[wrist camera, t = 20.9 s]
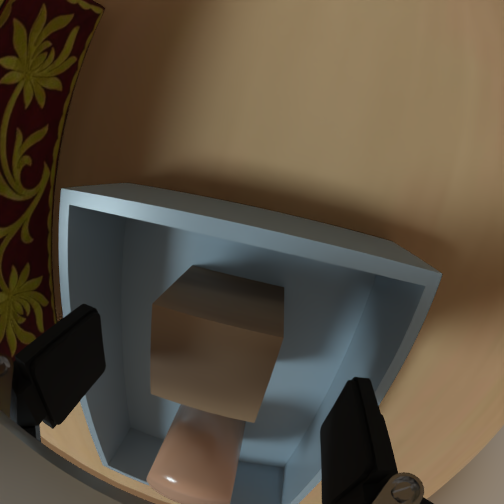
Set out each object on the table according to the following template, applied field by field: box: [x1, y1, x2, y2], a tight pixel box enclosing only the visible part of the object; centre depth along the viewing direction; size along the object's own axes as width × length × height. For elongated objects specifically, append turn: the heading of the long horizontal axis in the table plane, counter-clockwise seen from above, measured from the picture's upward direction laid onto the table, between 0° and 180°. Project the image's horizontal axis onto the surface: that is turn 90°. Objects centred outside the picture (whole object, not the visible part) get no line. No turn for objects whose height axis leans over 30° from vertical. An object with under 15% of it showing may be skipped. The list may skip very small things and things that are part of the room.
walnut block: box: [150, 265, 284, 423], centre depth 13 cm, size 5×5×5 cm
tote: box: [59, 183, 442, 504], centre depth 14 cm, size 21×15×6 cm
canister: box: [147, 404, 246, 504], centre depth 14 cm, size 5×5×7 cm
